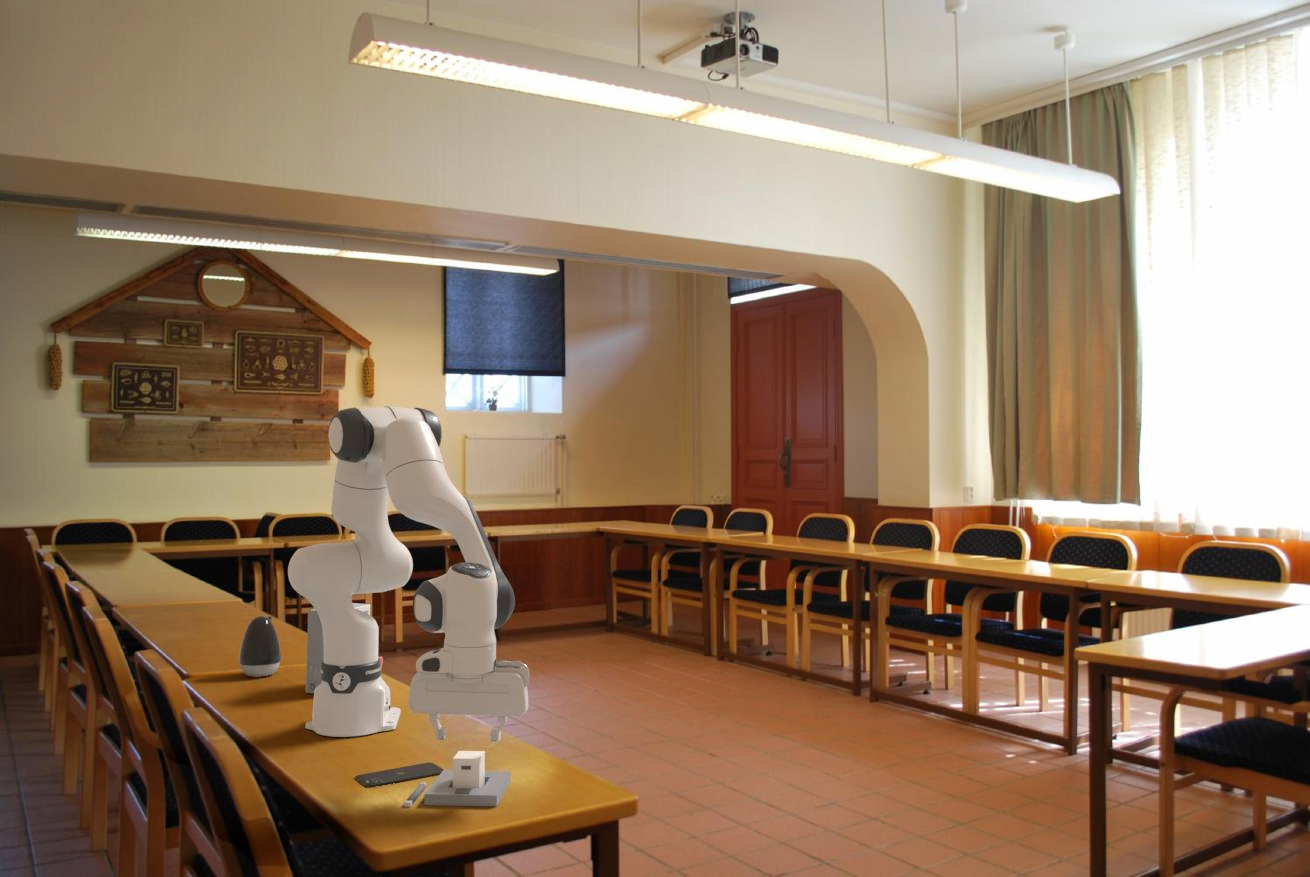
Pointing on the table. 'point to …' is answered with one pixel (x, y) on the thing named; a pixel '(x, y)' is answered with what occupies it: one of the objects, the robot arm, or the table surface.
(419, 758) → the table surface
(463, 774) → the brick
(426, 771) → the smartphone
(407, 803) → the bar
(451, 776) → the plate
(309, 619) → the hard drive box
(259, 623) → the grey egg on base
